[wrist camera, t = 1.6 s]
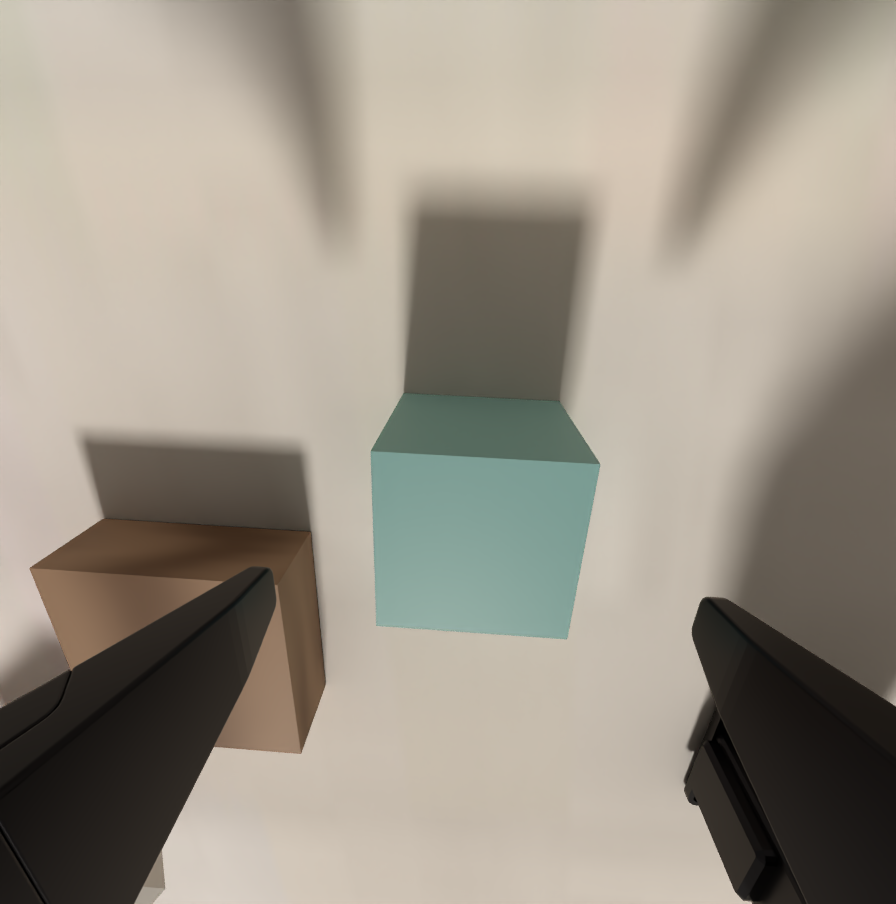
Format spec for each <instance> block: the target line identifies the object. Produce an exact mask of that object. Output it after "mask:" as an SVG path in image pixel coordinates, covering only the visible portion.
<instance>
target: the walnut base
mask: <svg viewBox="0 0 896 904" xmlns="http://www.w3.org/2000/svg"><path fill="white" fill-rule="evenodd" d="M251 566H260V567H269V568H270V569H271V570H272V572H273V577H274V584H275V591H276V607H275V610H274V613H273V616H272V618H271V621H270V624H269V626H268V629H267V631H266V634H265V637H264V639H263V642H262V644H261V647H260V650H259V652H258V655H257V658H256V660H255V663H254V665H253V668H252V670H251V673H250V675H249V678H248V680H247V682H246V684H245V686H244V688H243V690H242V692H241V694H240V696H239V698H238V700H237V702H236V704H235V706H234V708H233V710H232V712H231V714H230V716H229V718H228V720H227V722H226V724H225V726H224V728H223V730H222V732H221V734H220V736H219V737H218V739H217V741H216V743H215V745H214V747H223V748H236V749H248V750H260V751H272V752H284V753H297V754H301V752H302V750H303V747H304V744H305V741H306V738H307V736H308V733H309V730H310V727H311V724H312V722H313V719H314V716H315V713H316V710H317V708H318V705H319V702H320V699H321V696H322V694H323V691H324V688H325V685H326V684H325V674H324V664H323V654H322V643H321V633H320V623H319V612H318V602H317V592H316V582H315V571H314V561H313V551H312V541H311V532H305V531H289V530H274V529H258V528H242V527H227V526H211V525H195V524H179V523H164V522H148V521H132V520H117V519H102V520H101V521H99V522H98V523H96V524H95V525H93V526H92V527H90V528H89V529H87V530H86V531H84V532H83V533H81V534H80V535H78V536H77V537H75V538H74V539H72V540H71V541H69V542H68V543H66V544H65V545H63V546H62V547H60V548H59V549H57V550H56V551H54V552H53V553H51V554H50V555H48V556H47V557H45V558H44V559H42V560H41V561H39V562H38V563H36V564H35V565H33V566H32V567H30V571H31V573H32V576H33V578H34V581H35V583H36V586H37V588H38V591H39V593H40V596H41V598H42V601H43V603H44V605H45V608H46V610H47V613H48V615H49V618H50V620H51V623H52V625H53V628H54V630H55V633H56V635H57V638H58V640H59V643H60V645H61V648H62V650H63V653H64V655H65V657H66V660H67V662H68V665H69V667H70V670H71V671H72V669H73V668H74V667H75V666H77V665H79V664H80V663H82V662H84V661H86V660H87V659H89V658H91V657H93V656H94V655H96V654H98V653H100V652H101V651H103V650H105V649H107V648H108V647H110V646H112V645H114V644H115V643H117V642H119V641H121V640H122V639H124V638H126V637H128V636H129V635H131V634H133V633H135V632H136V631H138V630H140V629H142V628H144V627H145V626H147V625H149V624H151V623H152V622H154V621H156V620H158V619H159V618H161V617H163V616H165V615H166V614H168V613H170V612H172V611H173V610H175V609H177V608H179V607H180V606H182V605H184V604H186V603H187V602H189V601H191V600H193V599H194V598H196V597H198V596H200V595H201V594H203V593H205V592H207V591H208V590H210V589H212V588H214V587H215V586H217V585H219V584H221V583H222V582H224V581H226V580H228V579H229V578H231V577H233V576H235V575H236V574H238V573H240V572H242V571H243V570H245V569H247V568H249V567H251Z"/></svg>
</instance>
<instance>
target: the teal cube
mask: <svg viewBox="0 0 896 904" xmlns="http://www.w3.org/2000/svg"><path fill="white" fill-rule="evenodd" d="M599 468H600V463H599V462H598V460H597V458H596V457H595V455H594V454H593V452H592V451H591V449H590V448H589V446H588V445H587V443H586V442H585V440H584V438H583V437H582V435H581V434H580V432H579V431H578V429H577V428H576V426H575V425H574V423H573V422H572V420H571V419H570V417H569V415H568V414H567V412H566V411H565V409H564V408H563V406H562V405H561V403H560V402H559V401H546V400H526V399H507V398H488V397H469V396H449V395H430V394H411V393H404V394H403V395H402V397H401V399H400V401H399V402H398V404H397V406H396V408H395V409H394V411H393V413H392V415H391V416H390V418H389V420H388V422H387V423H386V425H385V427H384V429H383V431H382V432H381V434H380V436H379V438H378V439H377V441H376V443H375V445H374V446H373V448H372V450H371V475H372V506H373V536H374V567H375V598H376V626H386V627H400V628H414V629H428V630H442V631H456V632H470V633H485V634H499V635H513V636H527V637H541V638H555V639H567V637H568V632H569V627H570V621H571V616H572V611H573V606H574V600H575V595H576V590H577V584H578V579H579V574H580V569H581V563H582V558H583V553H584V548H585V542H586V537H587V532H588V526H589V521H590V516H591V511H592V505H593V500H594V495H595V490H596V484H597V479H598V474H599Z"/></svg>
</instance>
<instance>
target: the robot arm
mask: <svg viewBox="0 0 896 904" xmlns="http://www.w3.org/2000/svg"><path fill="white" fill-rule="evenodd" d="M275 607H276V591H275V584H274V577H273V572H272V570H271V569H270V568H269V567H260V566H251V567H249V568H247V569H245V570H243V571H242V572H240V573H238V574H236V575H235V576H233V577H231V578H229V579H228V580H226V581H224V582H222V583H221V584H219V585H217V586H215V587H214V588H212V589H210V590H208V591H207V592H205V593H203V594H201V595H200V596H198V597H196V598H194V599H193V600H191V601H189V602H187V603H186V604H184V605H182V606H180V607H179V608H177V609H175V610H173V611H172V612H170V613H168V614H166V615H165V616H163V617H161V618H159V619H158V620H156V621H154V622H152V623H151V624H149V625H147V626H145V627H144V628H142V629H140V630H138V631H136V632H135V633H133V634H131V635H129V636H128V637H126V638H124V639H122V640H121V641H119V642H117V643H115V644H114V645H112V646H110V647H108V648H107V649H105V650H103V651H101V652H100V653H98V654H96V655H94V656H93V657H91V658H89V659H87V660H86V661H84V662H82V663H80V664H79V665H77V666H75V667H74V668H73V669H72V671H70V670H68V671H66V672H64V673H63V674H61V675H59V676H57V677H56V678H54V679H52V680H50V681H49V682H47V683H45V684H43V685H42V686H40V687H38V688H36V689H34V690H33V691H31V692H29V693H27V694H25V695H23V696H22V697H20V698H18V699H16V700H14V701H13V702H11V703H9V704H7V705H5V706H4V707H2V708H0V904H134V903H135V901H136V899H137V897H138V895H139V894H140V892H141V890H142V888H143V886H144V884H145V882H146V880H147V878H148V876H149V874H150V872H151V870H152V868H153V866H154V864H155V862H156V860H157V858H158V856H159V854H160V852H161V850H162V848H163V846H164V844H165V842H166V840H167V838H168V836H169V834H170V832H171V830H172V828H173V826H174V824H175V822H176V820H177V818H178V816H179V815H180V813H181V811H182V809H183V807H184V805H185V803H186V801H187V799H188V797H189V795H190V793H191V791H192V789H193V787H194V785H195V783H196V781H197V779H198V777H199V775H200V773H201V771H202V769H203V767H204V765H205V763H206V761H207V759H208V757H209V755H210V753H211V751H212V749H213V747H214V745H215V743H216V741H217V739H218V737H219V736H220V734H221V732H222V730H223V728H224V726H225V724H226V722H227V720H228V718H229V716H230V714H231V712H232V710H233V708H234V706H235V704H236V702H237V700H238V698H239V696H240V694H241V692H242V690H243V688H244V686H245V684H246V682H247V680H248V678H249V675H250V673H251V670H252V668H253V665H254V663H255V660H256V658H257V655H258V652H259V650H260V647H261V644H262V642H263V639H264V637H265V634H266V631H267V629H268V626H269V624H270V621H271V618H272V616H273V613H274V610H275ZM692 637H693V641H694V644H695V647H696V650H697V653H698V656H699V658H700V661H701V664H702V667H703V670H704V673H705V676H706V678H707V681H708V684H709V687H710V690H711V693H712V696H713V698H714V701H715V704H716V706H717V707H716V709H715V712H714V715H713V717H712V720H711V722H710V725H709V727H708V730H707V732H706V735H705V737H704V740H703V742H702V745H701V748H700V750H699V753H698V755H697V758H696V760H695V763H694V765H693V768H692V770H691V773H690V775H689V778H688V780H687V783H686V786H685V788H684V792H685V794H686V797H687V799H688V801H689V803H691V804H692V805H698V806H699V807H700V810H701V812H702V814H703V817H704V819H705V822H706V824H707V826H708V829H709V831H710V833H711V836H712V838H713V841H714V843H715V845H716V848H717V850H718V852H719V855H720V857H721V860H722V862H723V864H724V867H725V869H726V872H727V874H728V876H729V879H730V881H731V883H732V886H733V888H734V890H735V892H736V893H737V894H738V895H739V897H740V898H741V899H742V900H743V901H751V902H752V904H896V706H894V705H893V704H891V703H890V702H888V701H886V700H885V699H883V698H882V697H880V696H879V695H877V694H875V693H874V692H872V691H871V690H869V689H868V688H866V687H864V686H863V685H861V684H860V683H858V682H857V681H855V680H853V679H852V678H850V677H849V676H847V675H846V674H844V673H842V672H841V671H839V670H838V669H836V668H835V667H833V666H831V665H830V664H828V663H827V662H825V661H824V660H822V659H820V658H819V657H817V656H816V655H814V654H813V653H811V652H809V651H808V650H806V649H805V648H803V647H802V646H800V645H798V644H797V643H795V642H794V641H792V640H791V639H789V638H787V637H786V636H784V635H783V634H781V633H780V632H778V631H776V630H775V629H773V628H772V627H770V626H769V625H767V624H765V623H764V622H762V621H761V620H759V619H758V618H756V617H754V616H753V615H751V614H750V613H748V612H747V611H745V610H743V609H742V608H740V607H739V606H737V605H736V604H734V603H732V602H731V601H729V600H728V599H725V598H718V597H705V598H703V599H702V600H701V602H700V604H699V608H698V611H697V614H696V617H695V620H694V623H693V626H692Z"/></svg>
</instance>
